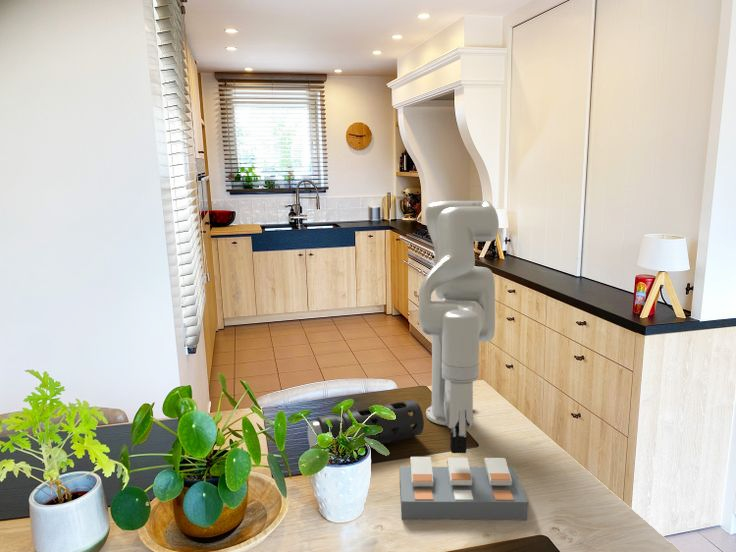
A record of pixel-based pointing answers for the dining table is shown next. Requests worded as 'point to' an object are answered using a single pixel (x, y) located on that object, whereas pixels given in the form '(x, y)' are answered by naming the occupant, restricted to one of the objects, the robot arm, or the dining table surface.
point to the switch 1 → (421, 471)
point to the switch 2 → (459, 471)
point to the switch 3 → (497, 471)
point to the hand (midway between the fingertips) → (458, 451)
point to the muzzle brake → (375, 423)
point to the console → (462, 498)
